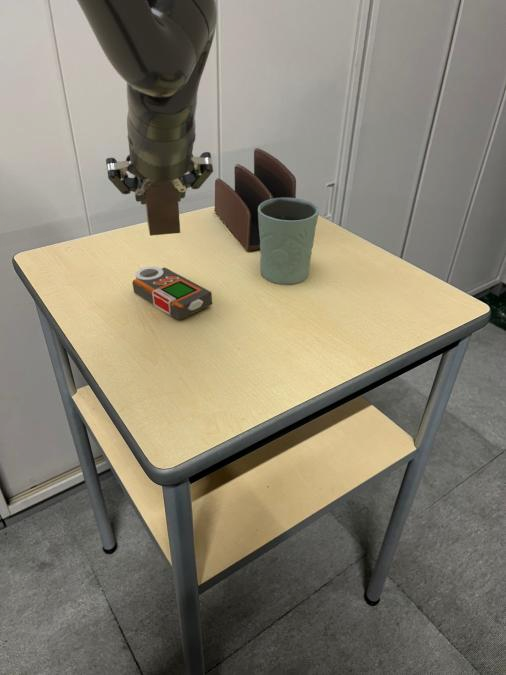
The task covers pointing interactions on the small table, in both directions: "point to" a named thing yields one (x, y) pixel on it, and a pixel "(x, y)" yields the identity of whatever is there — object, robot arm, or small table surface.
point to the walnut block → (162, 209)
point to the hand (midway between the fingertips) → (159, 196)
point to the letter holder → (252, 196)
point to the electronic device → (170, 292)
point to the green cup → (286, 239)
